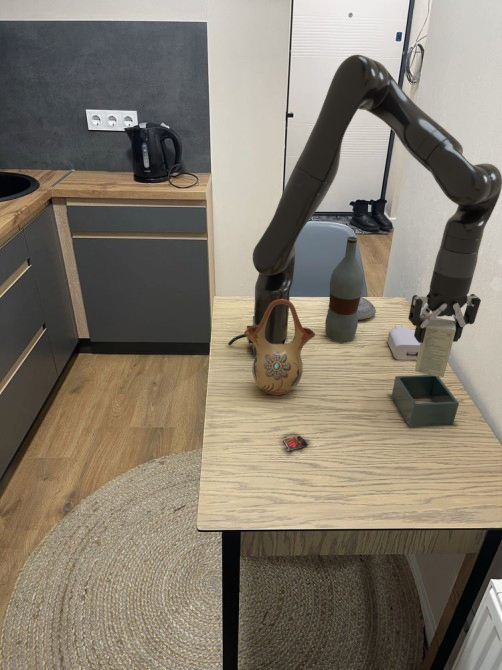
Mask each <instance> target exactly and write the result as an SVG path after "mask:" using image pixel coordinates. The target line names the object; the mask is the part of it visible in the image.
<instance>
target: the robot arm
mask: <svg viewBox="0 0 502 670" xmlns="http://www.w3.org/2000/svg"><path fill="white" fill-rule="evenodd" d="M359 110H361V111H366V112H368V113H370V114H372V115H374V116H375V117H377V118H378V119H379V120H381V121H382V122H384V123H385V124H386V125H387V126H388V127H389V128H390V129H391V130H392V131H393V132H394V134H395V135H396V137H397V139H398V140H399V141H400V143H401V144H402V146H403V147H404V149H405V150H406V151H407V152H408V153H409V154H410V156H412V157H413V158H414V159H415V160H416V161H417V162H418V163H420V165H421V166H423V167H424V168H425V169H426V170H427V171H428V172H429V173H430V174H431V175H432V178H433V179H434V181H435V182H436V184H437V185H438V186H439V188H440V190H441V191H442V192H443V194H444V195H445V196H446V197H447V199H449V200H450V201H451V202H452V203H454V204H455V205H458V206H457V208H456V211H455V212H454V214H452V215H451V216H450V217H449V218H448V219H447V221H446V222H445V226H444V228H443V233H442V238H441V242H440V246H439V248H438V252H437V254H436V257H435V262H434V266H433V271H432V275H431V280H430V283H429V284H430V285H429V291H428V293H427V294H426V296H419V295H417V294H414V295H413V296H412V298H411V302H410V307H409V313H408V321H409V322H410V323H411V324H412V325H413V326H414V327H415V329H414V330H415V333H414V337H415V338H416V340H417V341H418V342H419V343H423V340H424V336H425V331H426V328H425V327H426V326H427V325H428V324H429V322H430V321H433V320H434V319H435V318H441V317H453V319H454V320H453V321H455V322H456V331H455V335H454V339H453V343H455V342H456V343H457V342H458V341H459V340H460V339H461V337H462V334H463V330H464V327H465V326H466V325H473V324H474V323H475V321H476V318H477V314H478V312H479V309H480V306H481V302H482V300H481V298H480V297H479V296H477V295H476V294H475V293H471V294H470V295H468V294H469V293H470V289H471V285H472V282H473V279H474V276H475V271H476V268H477V264H478V258H479V253H480V252H479V251H480V248H481V243H482V240H483V236H484V231H485V229H486V226H487V224H488V222H489V220H490V218H491V217H492V214H493V212H494V209H495V207H496V205H497V203H498V201H499V198H500V195H501V192H502V173H501V171H500V169H499V168H498V167H497V166H495V165H494V164H492V163H488V162H487V163H486V162H484V163H483V162H482V163H478V164H472V163H471V162H470V161H468V159H467V158H466V157H465V156H464V155H463V152H464V148H463V145H462V143H461V142H459V140H457V138H456V137H454V136H453V135H452V134H451V133H450V132H449V131H447V129H446V128H444V127H443V126H442V125H440V124H439V123H438V122H437V121H436V120H435V119H433V118H432V117H431V116H430V115H428V113H426V112H425V111H424V110H422V109H421V108H420V107H419V106H418V105H417V104H416V103H415V102H414V101H413V100H412V99H411V98H410V97H409V96H408V94H406V92H405V91H404V90H403V89H402V88H401V86H400V85H399V83H398V82H397V81H396V80H395V78H394V77H393V76H392V74H391V73H390V72H389V71H388V69H387V68H386V67H385V65H383V64H382V63H381V62H380V61H377V60H376V59H372V58H370V57H368V56H366V55H363V54H352V55H350V56H348V57H346V58H345V59H344V60H343V61H342V62H341V63H340V65H339V66H338V67H337V69H336V71H335V73H334V75H333V77H332V79H331V82H330V84H329V87H328V90H327V92H326V95H325V98H324V101H323V103H322V107H321V108H320V111H319V114H318V117H317V119H316V122H315V124H314V126H313V128H312V130H311V132H310V134H309V136H308V139H307V141H306V143H305V146H304V147H303V148H302V149H303V150H302V152H301V153H300V155H299V157H298V159H297V160H296V163H295V165H294V167H293V169H292V172H291V173H290V175H289V178H288V180H287V182H286V185H285V187H284V190H283V191H282V194H281V197H280V199H279V202H278V204H277V206H276V209H275V212H274V215H273V217H272V219H271V220H270V222H269V224H268V226H267V227H266V229H265V231H264V232H263V234H262V235H261V237H260V239H259V240H258V242H257V243H256V244H255V247H254V248H253V251H252V263H253V266H254V269H255V270H256V271H257V272H258V275H257V279H256V282H255V285H254V306H253V308H254V309H253V316H252V325H246V329H248V328H250V327H253V326H256V327H257V326H258V325H259V324H260V322H261V321H262V319H263V316H264V314H265V312H266V310H267V308H268V306H269V305H270V303H271V302H273V301H274V300H277V299H286V300H288V301H290V298H291V289H292V285H293V282H294V272H295V264H296V263H295V262H296V246H295V244H296V242H297V239H298V238H299V235H300V234H301V232H302V230H303V229H304V228H305V226H306V225H307V223H308V222H309V221H310V220H311V218H312V217H313V216H314V214H315V213H316V212H317V210H318V208H319V207H320V206H321V204H322V202H323V201H324V199H325V198H326V197H327V194H328V192H329V191H330V189H331V187H332V185H333V183H334V181H335V179H336V177H337V174H338V172H339V166H340V162H341V153H342V144H343V140H344V137H345V134H346V132H347V130H348V128H349V126H350V124H351V122H352V120H353V119H354V117H355V115H356V113H357V111H359ZM426 304H427V305H426ZM425 305H426V306H425ZM465 305H466V307H465V310H464V314H463V312H462V308H463V307H464V306H465ZM289 312H290V308H289V306H288V305H286V304H277V305H275V306H274V307H273V309H272V311H271V313H270V315H269V317H268V320H267V323H266V328H265V338H266V340H267V341H268V342H269V343H271V344H288V341H289V336H288V327H289V314H290V313H289ZM243 338H247V343H248V344H249V345H250V344H251V347H252V353H253V356H254V357H255V356H256V346H255V345H254V343H253V342H252V341H251V340H250V339H249V338H248V337H247V336H246V335H245V334H244V333H243V334H239V335H237V336H235V337H233V338H232V339H231V340H230V341H229V342H228V343H227V345H228V346H232V345H233V344H234V343H235V342H236V341H238V340H240V339H243Z"/></svg>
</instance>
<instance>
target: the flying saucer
mask: <svg viewBox="0 0 502 670" xmlns="http://www.w3.org/2000/svg"><path fill="white" fill-rule="evenodd" d="M376 313H377V310H376V307H375V305H374V304H373V303H372V302H371V301H370V300H368V299H367V298H365V297H362V296H361V297H360V302H359V306H358V310H357V316H358V321H359V320H367V319H369V318H372V317H374V316H375V315H376Z"/></svg>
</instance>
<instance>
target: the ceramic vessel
mask: <svg viewBox="0 0 502 670" xmlns="http://www.w3.org/2000/svg"><path fill="white" fill-rule="evenodd" d="M277 304H286V305H288V306H289V311H290V313H291V316H292V320H293V324H294V335H293V338H292V340H291V341H289V342H287V344H271V343H269V342H268V341H267V340H266V338H265V328H266V323H267V320H268V317H269V315H270V313H271V311H272V309H273V307H274V306H275V305H277ZM252 326H253V325H252ZM243 334H245V335H246V336H247V337H248V338H249V339H250V340H251V341H252V342H253V343H254V345H255V346H256V356H254V358H253V361H252V368H251V371H252V377H253V380H254V382H255V384H256V385H257V386H258V388H259V389H261V390H262V392H265V393H267V394H268V395H272V396H281V395H284V394H288V393H290V392H291V391H292V390H294V389H295V388H296V387H297V386H298V385H299V383H300V381H301V379H302V376H303V373H304V363H303V360H302V357H301V356H302V349H303V348H304V347H305V345H306V344H307V343H308V342H309V341H311V339H314V338H315V336H316V333H315V332H314V331H313V330H312V329H311V328H309V327H305V326H303V325H302V323H301V321H300V318H299V316H298V312H297V310H296V307H295V305H294V304H293V303H292V302H291V301H290V300H289V301H288V300H286V299H277V300H274V301H273V302H271V303H270V305H269V306H268V308H267V310H266V312H265V314H264V316H263V319H262V321H261V322H260V324H259V325H258V326H257V327H256V326H253V327H250V328H248V329H247V328H246V329H245V330H244V331H243ZM247 337H246V338H247ZM248 338H247V339H248Z"/></svg>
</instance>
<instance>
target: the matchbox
mask: <svg viewBox="0 0 502 670" xmlns="http://www.w3.org/2000/svg"><path fill="white" fill-rule="evenodd" d="M282 440H283V443H284V444H285V446H286V447H287V448H286V451H287V452H288V453H290V451H294V450H297V449H301V448H305V447H306V446H309V444H308V442H307V441H306V439H305V438H304V437H302V436H301V435H296V434H294V433H292V434H289V435H287V436H286V438H285V437H284V438H282Z"/></svg>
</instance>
